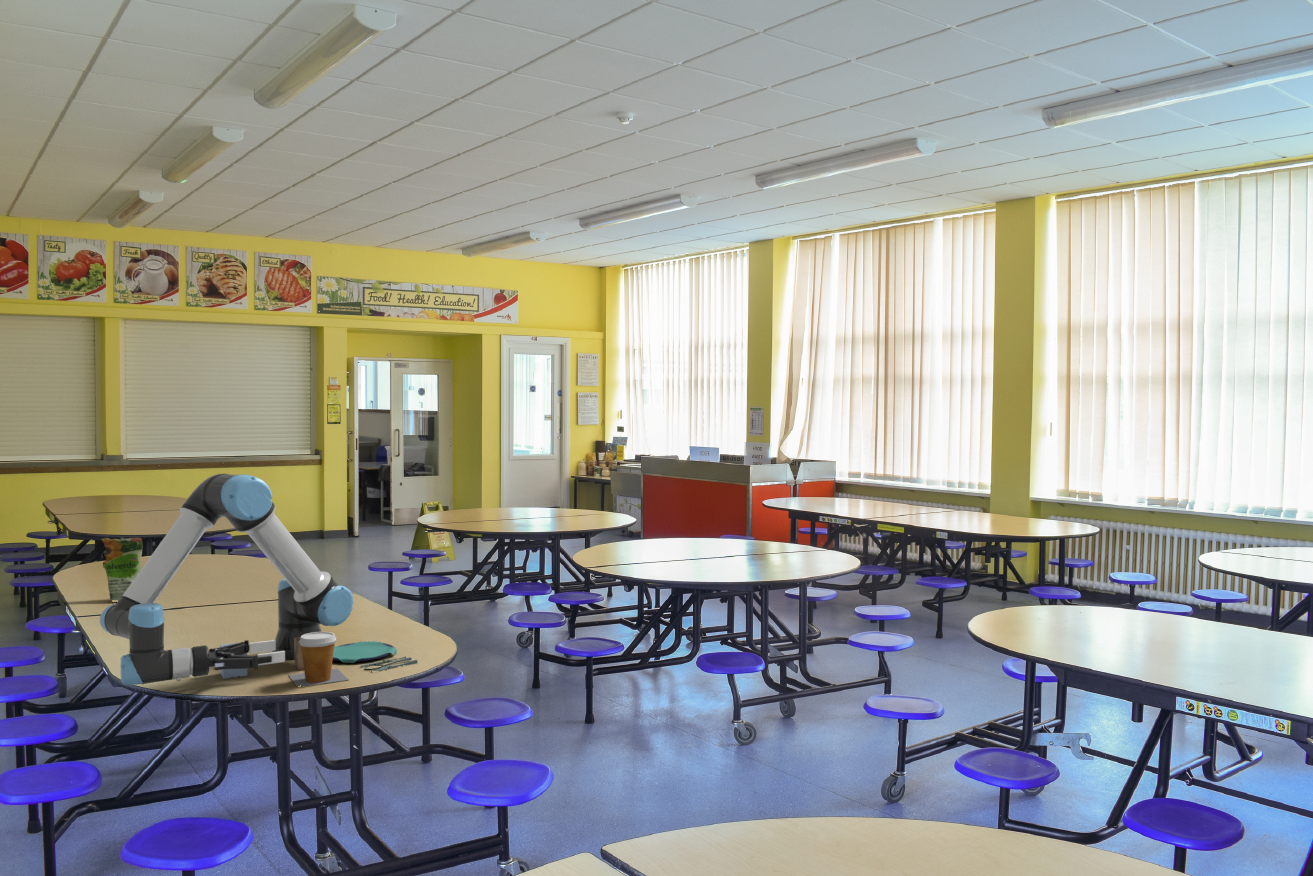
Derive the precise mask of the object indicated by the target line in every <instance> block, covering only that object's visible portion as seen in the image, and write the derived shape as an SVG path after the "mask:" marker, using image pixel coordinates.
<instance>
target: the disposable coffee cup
mask: <svg viewBox="0 0 1313 876" xmlns="http://www.w3.org/2000/svg"><path fill="white" fill-rule="evenodd" d="M336 642H337V637H336V635H335V633H334V632H330V631H322V632H313V633H307V634H304V635H302V636H301V638H300V641H299V643H300V645H301V650H302V658H303V665H304V671H303V673H305V680H306V682H310V683H318V682H324V681H328V680H329V679H330V677H331V669H333V667H332V666H333V661H334V660H333V653H334V647H335V643H336Z"/></svg>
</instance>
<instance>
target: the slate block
mask: <svg viewBox="0 0 1313 876" xmlns="http://www.w3.org/2000/svg"><path fill="white" fill-rule="evenodd" d="M236 643H237V642H233V643H225V644H220V647H223V646H228V645H232V644H236ZM243 655H248V653H246V654H243ZM220 675H221V677H222V679H232V678H231V677H233V678H239V677H238V676H240V677H245V675H247V676H248V669H222V670H220Z"/></svg>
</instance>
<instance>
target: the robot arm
mask: <svg viewBox="0 0 1313 876" xmlns="http://www.w3.org/2000/svg"><path fill="white" fill-rule="evenodd" d="M272 498H273V493H272V490H271V489H270V486H269V485H268V484H267V483H266V482H265V481H264V480H263V479H261V478H259V477H256V476H254V475H251V474H231V473H230V474H229V473H218V474H214V475H211V476H209V477H207V478H206V479H205V480H203V481H202V482H201V483H200V484H199V485H197V487H196V488H195V489H194V490H193V491H192V492H191V494H190V495H189V496H188V497H187V499H186V500H185V501H184V502H183V504H182V506H181V507H180V508H179V512H180V515H179V516H178V518H177V519H176V520H175V522H174V523H173V525H172V526H171V527H170V529H169V530H168V532H167V533H166V535H165V536H164V537H163V538H162V540H161V541H160V543H159V544H158V546H157V547H156V549H155V550H154V551H153V552H152V554H151V555H150V557H149V558H148V560H146V562H145V564H144V565H143V566H142V569H141V571H140V572H139V573H138V575H137V576H136V578H135V579H134V580H133V582H132V583H131V585H130V586H129V587H128V589H127V590H126V592H125V593H124V594H123V596H122V597H121V598H120V600H119V601H118V602H117V603H113V604H111V605H108V606H107V607H106V608H104V609H103V611H102V612H101V614H100V617H99V624H100V626H101V628H102V629H103V630H104V631H105V632H107V633H109V634H110V635H112V636H117V637H120V638H124V639H127V640H129V651H128V653H127V654H124V655H122V656H121V657H120V683H121V684H122V685H124V686H134V685H135V686H137V685H147V684H151V683H152V684H153V683H158V682H165V681H171V680H175V681H177V682H180V681H181V679H186V678H190V677H191V676H192V677H194V678H197V677H203V676H204V677H205V676H208V675H209V673H210V667H211V668H213V667H214V671H219V670H220V671H221V670H222V669H247V670H248V669H253V670H258V669H259V666H265V665H270V664H278V663H286V660H290V659H292V660H293V659H294V638H297V637H301V636H302V635H304V634H307V633H313V632H323V630H322V628H321V625H322V626H325V627H335V626H336V627H337V626H339V625H342V624H343V623H345V621H347V619H349V617H350V615H351V614H352V612H353V609H354V607H353V605H354V603H355V600H354V595H353V593H352V591H351V590H350V589H349V588H347V586H344V585H339V584H338V583H337V582H336V580H335V579H334V578H333V577H332V575H331V574H330V573H329V572H327V571H321V570H320V569H319V568H318V566H317V565H316V564H315V563H314V561H313V560H312V559H311V558H310V556H309V555H308V554H307V553H306V552H305V551H304V549H303V548H302V546H301V545H300V544H299V543H298V541H297V540H296V539H295V538H294V536H292V535H293V534H291V533H290V531H289V530H288V529H287V528H286V526H285V525H284V524H283V523H282V521H281V520H280V519H279V517H277V515H276V514H275V512H276V504H275V503H274V502H273V499H272ZM221 518H226V519H227V520H228V522H229V523H230V524H231V525H232V526H233V528H234V529H235V530H236V531H237V532H238V533H246V534H247V535H248V536H249V537H250V539H252V541H253V542H254V543H255V544H256V545H257V547H258V548H259V549H260V551H261V552H262V553H263V554H264V556H266V558H267V559H268V560H269V561H270V563H271V565H273V567H275V569H276V570H277V571H278V573H279V574H280V575H281V576H282V577H283V579H281V580H280V581H279V582H278V587H277V588H278V589H277V598H278V599H277V600H278V602H277V606H278V608H277V609H278V610H277V611H278V612H277V613H278V625H277V626H278V628H277V632H276V635H275V638H274V639H272V640H265V641H256V642H254V641H253V642H249V640H247V639H246V640H243V641H241V642H235V643H236V644H232V643H231V644H232V645H228V646H223V647H214V648H209V646H207V645H206V644H205V645H204V644H203V645H196V646H192V647H191V649H190V648H189V647H179V648H172V649H165V639H164V638H165V630H164V629H165V615H164V607H163V605H162V604H161V603H156V601H157V600H158V599H159V597H160V596H161V594H162V593H163V591H164V590H165V588H166V587H167V585H168V584H169V583H170V582H171V580H172V579H173V577H174V576H175V574H176V573H177V572H178V570H179V569H180V567H181V566H182V564H183V563H184V562H185V560H186V559H187V558H188V556H189V555H190V553H191V552H192V550H193V549H194V548H195V546H196V545H197V543H198V542H199V540H200V539H201V538H202V536H203V535H204V533H205V532H206V531H207V530H208V529H212V528H213V527H214V526H215V525H216V523H217V522H218V520H220V519H221ZM246 653H247V655H243V654H246ZM248 654H257V655H248Z"/></svg>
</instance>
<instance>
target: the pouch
mask: <svg viewBox="0 0 1313 876" xmlns="http://www.w3.org/2000/svg"><path fill="white" fill-rule="evenodd" d="M101 541H102V543H104V544H103V545H104V548H105V553H104V556H105V560H104V561H103V562H102V568H104V570H105V574H106V578H107V585H108V587H107V589H108V591H109V593H108V594H109V600H110V601H111V600H118V601H119V600H120V598H121V597H122V596H123V594H124V593H125V592H126V590H127V589H128V587H129V586H130V585H131V583H132V582H133V580H134V579H135V578H136V576H137V575H138V573H139V572H140V571H141V569H142V568H143V566H142V554H143V547H144V543H143V539H142V538H141V537H129V538H124V537H122V536H120V539H119V538H118V539H117V538H112V539H111V538H108V537H104V538H101Z"/></svg>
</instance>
